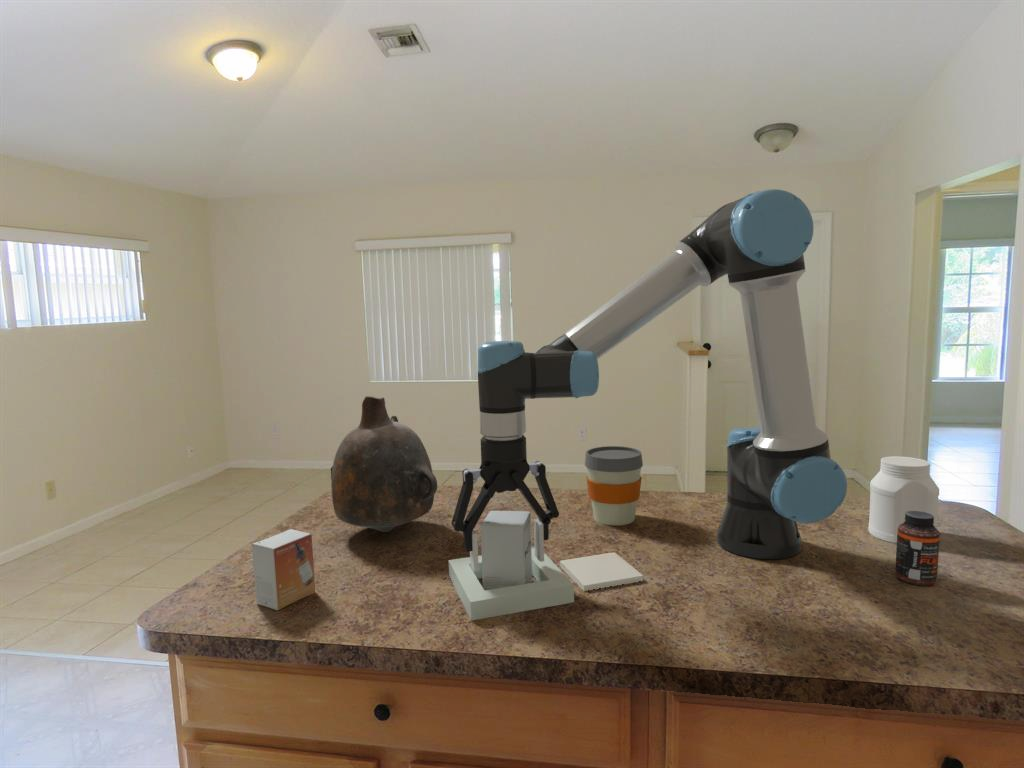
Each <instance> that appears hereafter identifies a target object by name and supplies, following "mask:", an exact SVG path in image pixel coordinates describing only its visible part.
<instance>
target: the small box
mask: <svg viewBox="0 0 1024 768" xmlns="http://www.w3.org/2000/svg"><path fill="white" fill-rule="evenodd" d="M312 535H313V534H312V533H309V532H305V531H300V530H296V529H293V528H290V529H287V530H286V531H283V532H280V533H277V534H275V535H273V536H270V537H267V538H265V539H262V540H259V541H256V542H253V543H252V544H251V551H252V553H251V554H252V563H253V564H252V565H253V576H254V588H255V589H254V590H255V601H256V604H257V605H260V606H263V607H265V608H269V609H272V610H275V611H280V610H281V609H283V608H285V607H287V606H289V605H291V604H293V603H296V602H299V601H300V600H301V599H304V598H306V597H309V596H311V595H313V594H315V593H316V583H315V582H316V581H315V564H314V552H313V549H314V548H313V536H312Z"/></svg>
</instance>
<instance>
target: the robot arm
mask: <svg viewBox="0 0 1024 768" xmlns="http://www.w3.org/2000/svg"><path fill="white" fill-rule="evenodd" d="M813 236H814V220H813V216H812V213H811V211H810V209H809V208H808V206H807V204H806V203H805V202H804V201H803V200H802V199H801V198H799V197H798V196H796V195H795V194H794V193H792V192H790V191H787V190H783V189H776V188H775V189H771V188H770V189H765V190H758V191H755V192H751V193H748V194H747V195H745V196H743V197H741V198H738V199H737V200H734V201H732V202H728V203H726V204H724V205H722V206H720V207H719V208H718V209H716V210H715V211H714V212H713V213H711V214H710V215H709V216H708V217H707V218H706V219H704V221H702V222H701V223H700V224H699V225H698V226H696V228H695V229H693V230H692V231H691V232H690V233H688V234H687V235H686V236H685V237H683V238H682V239H681V240H679V241H678V242H677V243H676V244H675V246H674V252H672V253H671V254H670V255H669V256H667V257H666V258H664V259H663V260H662V261H660V262H659V263H658V264H657V265H655V266H653V268H651V269H650V270H648V271H646V273H644V274H643V275H642V276H640V277H639V278H637V279H636V280H635V281H633V282H632V283H631V284H630V285H628V286H627V287H625V288H624V289H622V290H621V291H620V292H619V293H617V294H616V295H614V296H613V297H612V298H610V299H609V300H608V301H606V302H604V303H603V304H602V305H601V306H599V307H598V308H596V310H594V311H593V312H591V313H590V314H589V315H588V316H586V317H584V318H583V319H582V320H581V321H579V322H577V324H575V325H573V326H572V327H571V328H570V329H568V330H567V331H566V332H564V334H563V333H562V335H561V336H559V337H557V338H556V339H555V340H554V341H552V342H551V343H549V344H547V345H543V346H542V347H541V348H539V349H538V350H537V351H536V352H525V351H526V350H525V348H524V344H523V342H522V341H518V340H496V341H494V340H493V341H487V342H483V343H481V344H480V345H479V347H478V348H477V384H478V386H477V387H478V404H479V407H478V408H479V430H480V431H479V434H481V436H482V437H481V438H480V457H481V458H480V461H481V463H480V466H479V468H477V469H468V468H464V469H463V471H462V486H461V489H460V492H459V496H458V499H457V502H456V506H455V510H454V513H453V517H452V520H451V526H452V527H453V529H454V530H455V532H462V536H463V538H462V539H463V547H464V550H465V552H468V553H469V557H470V565H471V567H472V569H473V571H474V572H478V571H479V566H478V556H479V545H478V543H479V541H478V532H477V531H476V530H475V527H476V525H477V523H478V522H479V520H480V518H481V516H482V514H483V513H484V511H485V510H486V508H487V506H488V504H489V502H490V500H491V499H492V498H493V497H494V496H495V493H497V494H500V493H504V492H506V491H508V492H516V491H517V489H518V491H519V492H520V493H521V495H522V497H523V498H524V499H525V500H526V502H527V504H528V505H529V506H530V508H531V509H532V511H533V512H534V514H535V515H536V516H537V519H533V531H534V532H533V533H534V534H533V536H534V537H533V539H534V547H535V557H536V558H537V559H538V560H539V561H540V562H542V561H544V553H545V543H544V541H548V539H549V537H550V535H549V534H550V533H549V531H550V530H549V529H550V528H549V527H550V526H549V524H551V522H552V521H551V520H553V519H558V518H559V516H560V512H559V510H558V507H557V504H556V502H555V499H554V496H553V493H552V490H551V488H550V485H549V482H548V480H547V475H546V473H547V470H546V465H545V464H544V463H542V462H541V461H540V460H536V461H535V462H533V463H528V460H527V459H528V456H527V454H528V453H527V438H526V436H525V435H524V434H526V431H527V426H526V425H527V424H526V399H528V400H529V399H533V400H535V399H551V398H552V399H553V398H554V399H555V398H556V399H557V398H558V399H559V398H563V399H564V398H574V399H578V398H582V397H591V396H594V395H596V393H597V392H598V391H599V390H598V389H599V384H600V383H599V382H600V369H599V361H598V360H599V359H600V358H602V357H603V356H604V355H607V353H608V352H610V351H611V350H613V349H614V348H616V347H617V346H618V345H620V344H621V343H622V342H623V341H626V339H628V338H629V337H630V336H632V335H633V334H635V333H637V331H639V330H640V329H642V328H643V327H644V326H645V325H647V324H648V323H650V322H651V321H652V320H654V319H656V318H657V317H658V316H659V315H661V314H662V313H663V312H665V311H666V310H668V309H669V308H671V307H672V306H673V305H675V304H676V303H677V302H679V301H680V300H681V299H683V298H684V297H686V296H687V295H688V294H690V293H691V292H692V291H693V290H696V289H697V287H699V286H701V287H702V286H703V287H708V286H710V285H711V284H713V283H714V282H716V281H717V280H718V279H720V278H722V277H724V276H726V275H727V280H728V284H729V286H730V287H732V288H733V289H735V290H736V291H738V292H739V294H740V300H741V308H742V314H743V319H744V327H745V333H746V340H747V346H748V347H747V348H748V354H749V359H750V360H749V361H750V368H751V375H752V381H753V387H754V394H755V399H756V401H755V402H756V406H757V413H758V414H757V415H758V419H759V420H758V421H759V426H750V427H740V428H739V427H738V428H733V429H731V431H730V432H729V433H728V436H727V444H726V449H727V454H726V455H727V456H726V457H727V458H726V459H727V462H726V463H727V464H726V465H727V466H726V467H727V468H726V470H727V471H726V472H727V473H726V474H727V476H726V477H727V478H726V479H727V482H726V486H727V487H726V489H727V491H726V495H727V496H726V499H727V500H726V506H725V508H724V511H723V514H722V516H721V517H722V518H721V521H720V524H719V526H718V528H717V533H716V534H717V535H716V536H717V540H716V541H717V544H718V545H719V546H720V547H721V548H723V549H724V550H726V551H727V552H730V553H732V554H735V555H739V556H742V557H746V558H752V559H757V560H758V559H761V560H781V559H789V558H791V557H794V556H796V555H798V554H799V553H800V552H801V550H802V536H801V534H800V530H799V527H798V523H799V524H814V523H818V522H822V521H824V520H827V519H828V518H830V517H831V516H833V514H834V513H836V510H837V509H838V508H839V507H841V505H843V503H844V501H845V498H846V496H847V491H848V480H847V476H846V473H845V471H844V470H843V468H842V467H841V466H840V465H839V463H837V462H836V461H834V459H832V458H831V457H832V456H831V450H830V445H829V438H828V434H827V433H826V432H824V431H823V430H822V429H820V428H819V427H818V426H817V425H816V418H815V410H814V403H813V396H812V388H811V387H812V386H811V382H810V379H811V378H810V374H809V366H808V357H807V351H806V343H805V337H804V327H803V321H802V314H801V307H800V299H799V292H798V285H797V284H798V281H800V279H801V277H802V276H803V274H804V273H805V272H806V265H805V256H804V253H805V252H806V251H807V249H808V247H809V245H810V244H811V242H812V239H813ZM529 472H530V473H531V475H533V476H534V479H535V481H536V484H537V486H538V487H537V488H538V489H539V492H540V494H541V495H540V496H541V498H542V500H543V503H544V505H545V508H546V510H544V508H543V507H542V506H541V504H540V503H539V501H538V500H537V499H536V497H535V496H534V495H533V493H532V491H531V490H530V488H529V487H528V485H527V484H526V483H525V479H526V477H527V475H528V474H529ZM480 477H481V478H482V479H483V481H484V483H483V485H482V486H481V488H480V492H479V494H478V496H477V497H476V499H475V501H474V503H473V505H472V506H471V508H470V510H469V512H468V514H467V511H468V508H469V503H470V501H471V498H472V494H473V490H474V484H476V483H477V482H478V479H479V478H480ZM466 515H467V516H466Z"/></svg>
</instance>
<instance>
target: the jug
mask: <svg viewBox="0 0 1024 768" xmlns="http://www.w3.org/2000/svg"><path fill="white" fill-rule="evenodd" d="M360 416H361V419H360V422H359V425H358V426H357V427H355V428H353V429H352V430H350V431H349V432H348V433H347V434H346V435H345V437H344V438H343V439H342V441H341V442H340V443H339V446H338V448H337V450H336V453H335V455H334V459H333V464H332V466H331V467H330V480H331V484H330V485H331V501H332V507H333V511H334V513H335V516H336V517H337V518H338V520H339V521H341V522H343V523H345V524H348V525H351V526H355V527H362V528H368V529H371V530H376V531H379V532H381V533H388V532H390V531H392V530H394V528H396V527H398V526H401V525H402V526H403V525H404V524H407V523H410V522H411V521H414V520H416V519H418V518H419V519H420V518H421V517H423V516H424V515H426V514H427V513H429V512H430V511H431V509H432V507H433V504H434V500H435V499H434V498H435V494H436V492H437V490H438V481H437V477H436V475H435V474H434V473H433V469H432V464H431V460H430V457H429V455H428V452H427V450H426V448H425V445H424V443H423V441H422V440H421V438H420V437H419V436H418V434H417V433H416V432H415V431H414V430H413V429H412V428H410V427H409V426H407V425H406V424H403V423H401V422H399V419H398V416H396V415H391V417H390V416H389V415H388V411H387V408H386V400H385V397H383V396H382V397H376V396H372V395H366V396H365V397H364V399H363V401H362V402H361V415H360Z"/></svg>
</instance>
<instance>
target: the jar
mask: <svg viewBox="0 0 1024 768" xmlns="http://www.w3.org/2000/svg"><path fill="white" fill-rule="evenodd" d="M930 467H931V462H929V461H928V460H926V459H922V458H917V457H911V456H900V455H893V456H883V457H882V458H881V459H880V469H879V471H878V472H877V474H875V476H874V477H873V478H872V479H871V480H870V483H869V484H870V485H869V487H870V493H869V494H870V498H869V515H868V517H869V519H868V521H869V522H868V532H869V534H870V535H871V536H872V537H875V538H877V539H879V540H882V541H884V542H887V543H893V544H897V532H898V526H899V525H900V524H902V523H904V522H905V513H906V512H907V511H921V512H926V513H929V514H932V515H933V516H934V524H933V525H934V527H935V528H936V529H937V528H938V527H937V525H938V509H939V496H940V488H939V486H938V485H937V483H936V482H935V480H934V479H933V478H932V477H931V474H930V473H931V468H930ZM937 530H938V529H937Z"/></svg>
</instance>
